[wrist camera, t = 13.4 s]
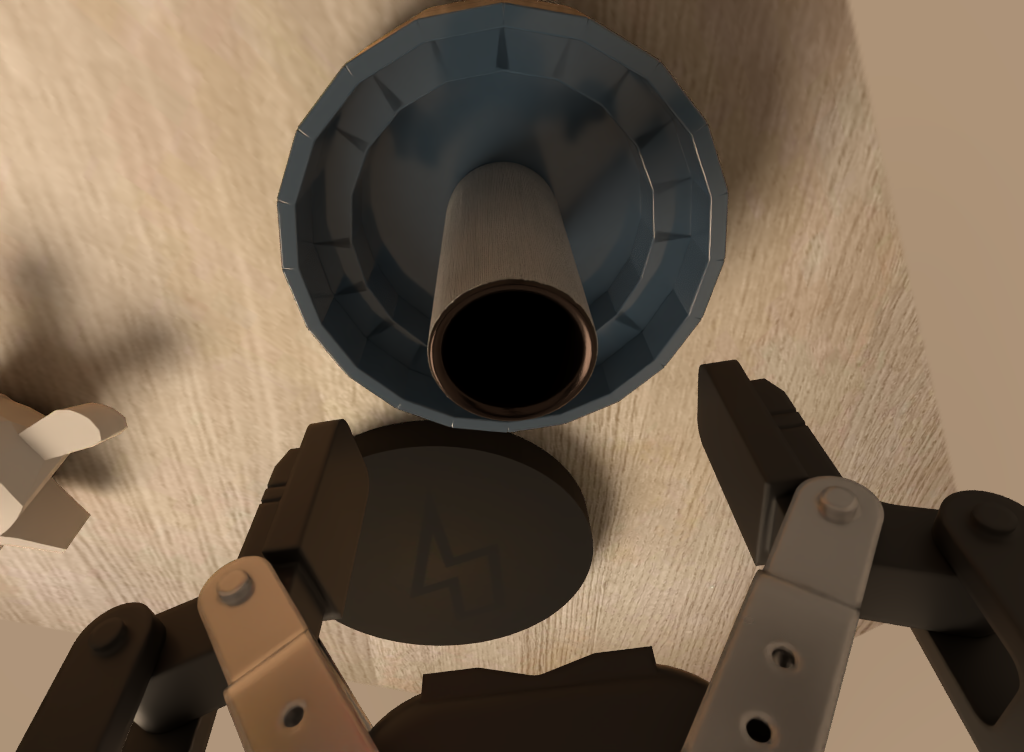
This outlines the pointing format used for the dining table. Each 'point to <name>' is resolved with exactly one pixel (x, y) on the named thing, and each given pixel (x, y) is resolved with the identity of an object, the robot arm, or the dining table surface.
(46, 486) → the bunny figurine
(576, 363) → the grey hollow cylinder
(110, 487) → the dining table surface
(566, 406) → the bowl
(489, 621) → the wireless charger
